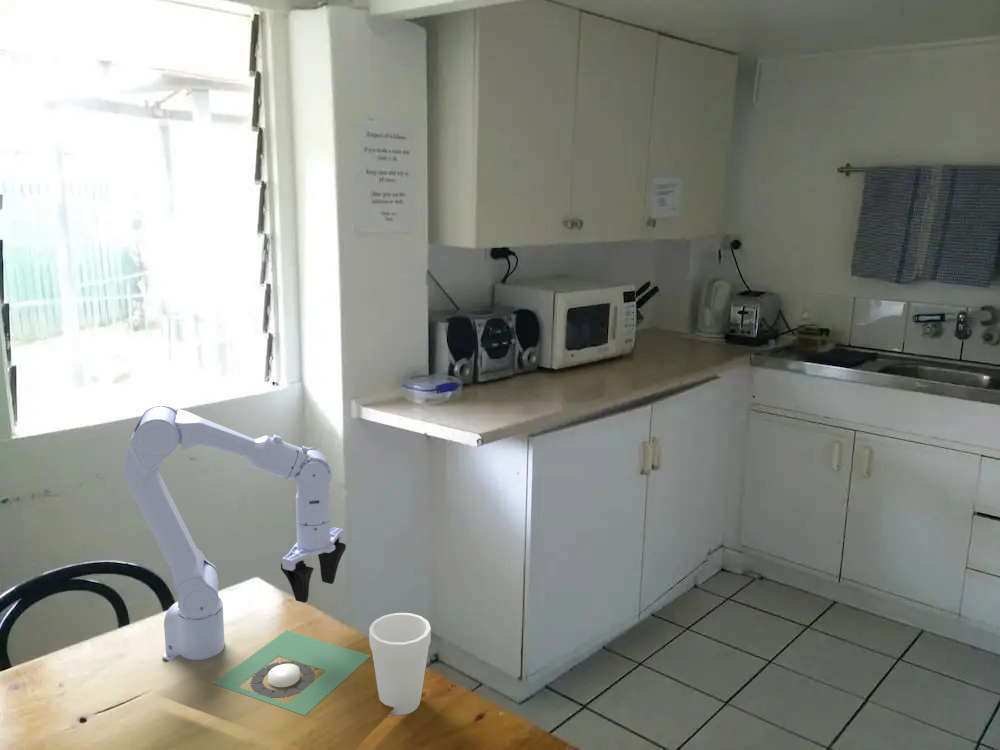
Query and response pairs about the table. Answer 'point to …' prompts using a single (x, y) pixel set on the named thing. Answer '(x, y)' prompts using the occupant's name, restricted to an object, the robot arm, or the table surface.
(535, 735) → the table surface
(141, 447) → the robot arm
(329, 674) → the mat
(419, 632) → the foam cup
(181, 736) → the table surface
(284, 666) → the white smooth pebble
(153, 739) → the table surface
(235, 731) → the table surface
